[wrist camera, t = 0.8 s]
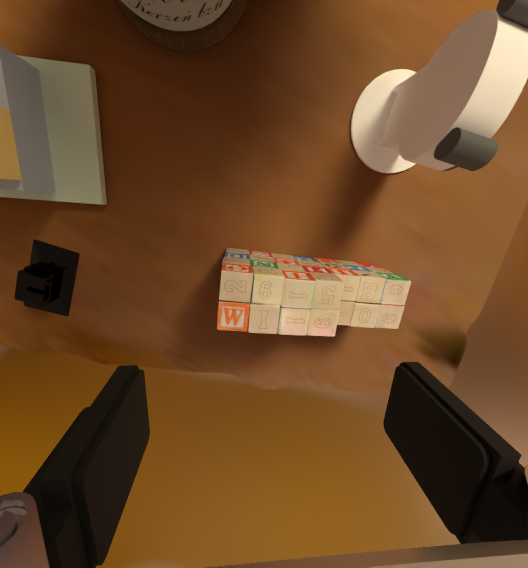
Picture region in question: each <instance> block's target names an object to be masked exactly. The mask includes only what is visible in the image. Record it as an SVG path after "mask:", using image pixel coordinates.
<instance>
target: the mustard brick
mask: <svg viewBox="0 0 528 568" xmlns="http://www.w3.org/2000/svg"><path fill="white" fill-rule="evenodd" d="M0 179H12V180H22V179H21V173H20V167H19V162H18V156H17V150H16V144H15V138H14V133H13V127H12V121H11V115H10V110H8V109H6V108H3V107H1V106H0Z"/></svg>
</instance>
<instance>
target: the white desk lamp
mask: <svg viewBox="0 0 528 568" xmlns="http://www.w3.org/2000/svg"><path fill="white" fill-rule="evenodd" d="M527 78H528V0H500V1H499V3H498V5H497V11H496V10H493V9H489V10H485V11H482V12H479V13H477V14H475V15H473V16H471V17H469V18H468V19H466V20H465V21H464V22H462V23H461V24H460V25H459V26H458V27H457V28H456V29H454V30H453V32H452V33H451V34H450V35H449V36H448V37H447V38H446V39H445V40H444V42H443V43H442V44H441V45H440V47H439V48H438V49H437V51H436V52H435V54H434V55H433V56H432V58H431V60H430V61H429V63H428V64H427V65H426V66H425V67H424V68H422V69H421V70H419V71H418V72H417V73H416V72H414V71H411V70H406V69H397V70H392V71H389V72H386V73H384V74H382V75H380V76H378V77H377V78H376V79H374V80H373V81H372V82H371V83H370V84H369V85H368V86H367V87H366V88H365V89H364V90H363V92H362V93H361V95H360V96H359V98H358V100H357V102H356V104H355V107H354V110H353V113H352V118H351V138H352V143H353V146H354V149H355V151H356V153H357V155H358V157H359V158H360V159H361V161H362V162H363V163H364V164H365V165H367V166H368V167H369V168H371V169H373V170H375V171H378V172H381V173H396V172H401V171H404V170H406V169H408V168H410V167H412V166H413V165H415V164H419V165H422V166H425V167H429V168H432V169H435V170H441V171H448V170H451V169H454V168H456V167H461V168H464V169H467V170H470V171H475V170H478V169H480V168H482V167H484V166H485V165H486V164H487V163H489V161H490V160H491V159H492V158H493V157H494V155H495V154H496V152H497V150H498V143H497V142H496V141H495V140H493V139H490V138H491V137H492V136H493V135H494V134H495V132H496V131H497V130H498V129H499V128H500V126H501V125H502V124H503V122H504V121H505V119H506V118H507V116H508V114H509V113H510V111H511V109H512V108H513V106H514V104H515V102H516V101H517V99H518V97H519V95H520V93H521V91H522V89H523V87H524V85H525V83H526V80H527Z"/></svg>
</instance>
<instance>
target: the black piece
mask: <svg viewBox="0 0 528 568" xmlns="http://www.w3.org/2000/svg"><path fill="white" fill-rule="evenodd" d="M78 260H79V253H76V252H73V251H70V250H67V249H64V248H60V247H57V246H54V245H51V244H48V243H45V242H41V241H38V240H33V247H32V253H31V260H30V265H29V266H26V267H24V270H21V271H18V275H17V283H16V290H15V298H14V299H16V300H20V301H24V305H25V306H28V307H32V308H36V309H40V310H44V311H48V312H52V313H56V314H60V315H63V316H69V310H70V305H71V299H72V293H73V288H74V282H75V277H76V271H77V266H78Z"/></svg>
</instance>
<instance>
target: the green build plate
mask: <svg viewBox="0 0 528 568" xmlns="http://www.w3.org/2000/svg"><path fill="white" fill-rule="evenodd" d="M18 57H20V58H21V59H23V60H25V61H26V62H28V63H29V64H31V65H32V66H34V67H35V68H37V69H38V70H39V76H40V83H41V90H42V97H43V104H44V111H45V118H46V125H47V132H48V140H49V147H50V154H51V161H52V168H53V175H54V182H55V189H56V192H35V191H16V190H3V189H0V197H8V198H21V199H34V200H48V201H61V202H74V203H87V204H101V205H105V204H107V198H106V187H105V176H104V165H103V154H102V142H101V131H100V120H99V109H98V97H97V86H96V75H95V70H94V69H93V68H92V67H91V66H90V65H86V64H79V63H71V62H63V61H56V60H48V59H40V58H33V57H25V56H18Z"/></svg>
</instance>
